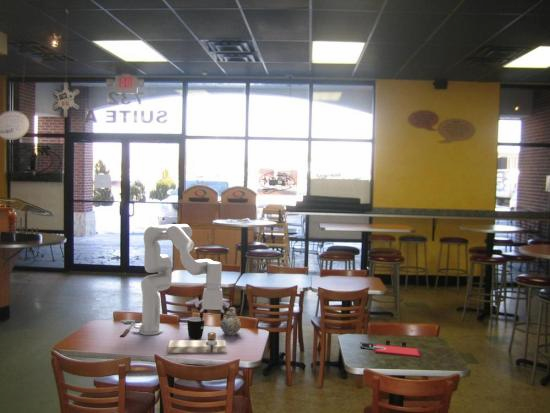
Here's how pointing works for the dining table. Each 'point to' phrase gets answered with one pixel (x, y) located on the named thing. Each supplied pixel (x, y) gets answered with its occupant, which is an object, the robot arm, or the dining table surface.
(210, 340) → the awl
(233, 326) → the grey bulbous vase
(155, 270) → the robot arm
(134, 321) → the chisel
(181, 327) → the dining table surface
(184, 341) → the subfloor board
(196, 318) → the mug
